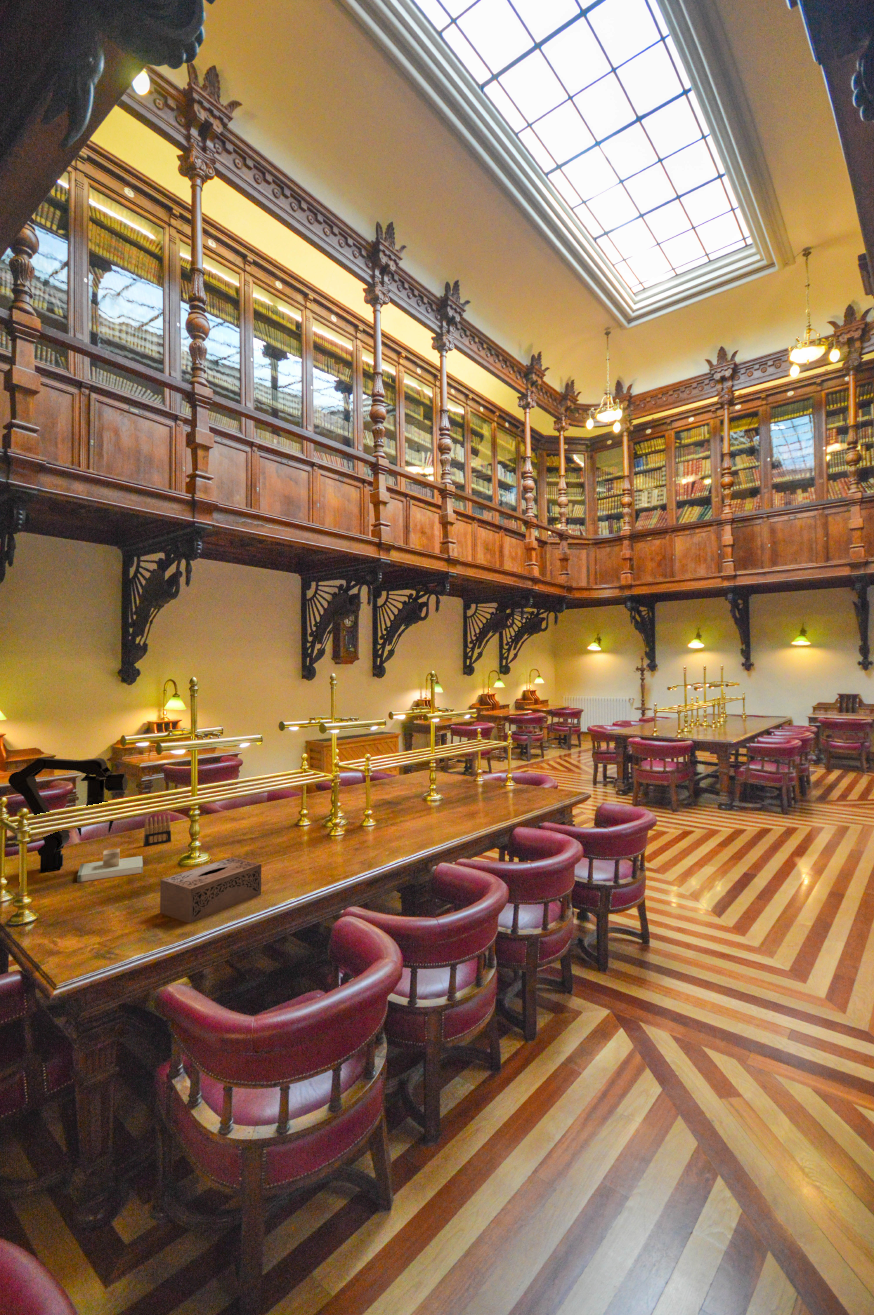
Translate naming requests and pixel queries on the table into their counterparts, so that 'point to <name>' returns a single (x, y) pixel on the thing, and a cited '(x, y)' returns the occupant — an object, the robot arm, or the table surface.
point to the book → (110, 869)
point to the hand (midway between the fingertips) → (94, 834)
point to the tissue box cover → (209, 889)
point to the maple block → (111, 858)
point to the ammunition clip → (157, 836)
